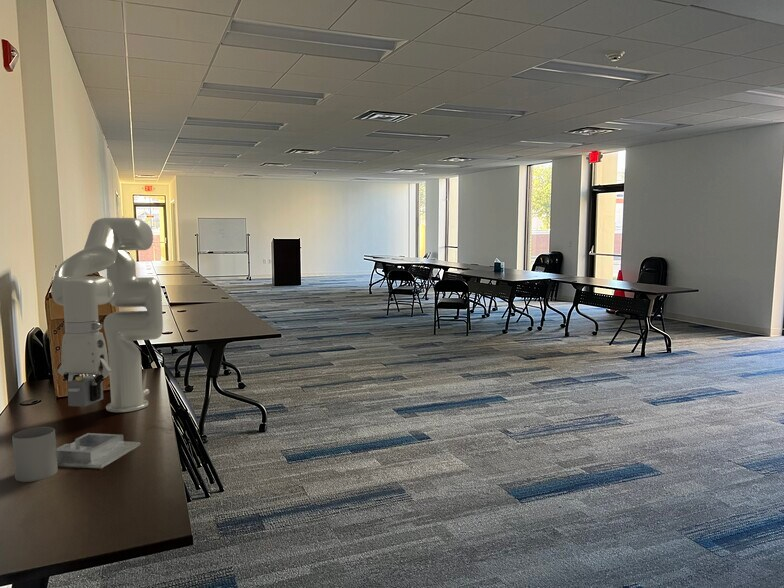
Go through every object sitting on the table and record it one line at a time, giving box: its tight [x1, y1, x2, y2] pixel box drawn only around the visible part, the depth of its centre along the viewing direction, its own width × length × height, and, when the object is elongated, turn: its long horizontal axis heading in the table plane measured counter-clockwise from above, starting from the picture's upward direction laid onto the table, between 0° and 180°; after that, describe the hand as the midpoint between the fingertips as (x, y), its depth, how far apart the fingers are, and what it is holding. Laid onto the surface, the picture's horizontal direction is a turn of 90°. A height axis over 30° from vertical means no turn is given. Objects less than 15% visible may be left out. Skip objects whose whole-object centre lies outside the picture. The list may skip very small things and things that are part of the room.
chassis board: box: [56, 432, 142, 469], centre depth 146 cm, size 16×18×3 cm
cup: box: [11, 426, 59, 483], centre depth 133 cm, size 8×8×10 cm
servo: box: [66, 375, 104, 408], centre depth 144 cm, size 9×4×7 cm, turn 171°
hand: (86, 399), depth 144 cm, fingers closed on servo, 4 cm apart
